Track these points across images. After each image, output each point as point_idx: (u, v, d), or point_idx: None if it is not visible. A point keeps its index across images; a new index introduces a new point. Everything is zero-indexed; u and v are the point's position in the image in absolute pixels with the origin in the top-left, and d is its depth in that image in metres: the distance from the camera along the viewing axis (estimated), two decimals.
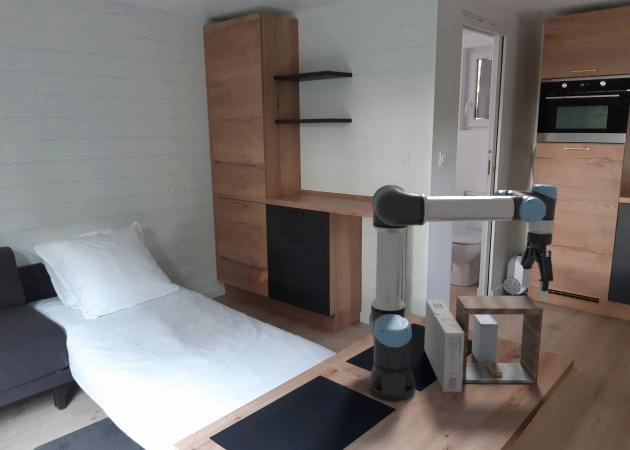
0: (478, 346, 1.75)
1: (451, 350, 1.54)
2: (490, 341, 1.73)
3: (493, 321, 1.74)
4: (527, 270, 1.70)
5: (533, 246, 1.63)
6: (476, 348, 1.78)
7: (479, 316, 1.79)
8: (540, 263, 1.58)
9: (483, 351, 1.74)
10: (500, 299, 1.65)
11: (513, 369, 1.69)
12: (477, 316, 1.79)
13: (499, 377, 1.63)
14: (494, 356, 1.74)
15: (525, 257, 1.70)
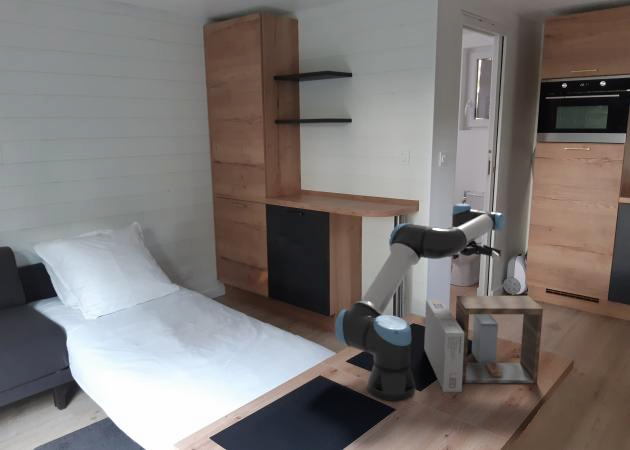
0: (478, 346, 1.75)
1: (451, 350, 1.54)
2: (490, 341, 1.73)
3: (493, 321, 1.74)
4: None
5: None
6: (476, 348, 1.78)
7: (479, 316, 1.79)
8: None
9: (483, 351, 1.74)
10: (500, 299, 1.65)
11: (513, 369, 1.69)
12: (477, 316, 1.79)
13: (499, 377, 1.63)
14: (494, 356, 1.74)
15: None
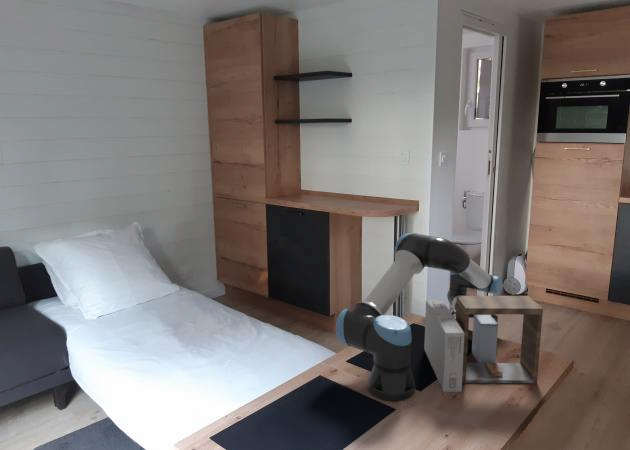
0: (478, 346, 1.75)
1: (451, 350, 1.54)
2: (490, 341, 1.73)
3: (493, 321, 1.74)
4: None
5: None
6: (476, 348, 1.78)
7: (479, 316, 1.79)
8: None
9: (483, 351, 1.74)
10: (500, 299, 1.65)
11: (513, 369, 1.69)
12: (477, 316, 1.79)
13: (499, 377, 1.63)
14: (494, 356, 1.74)
15: None
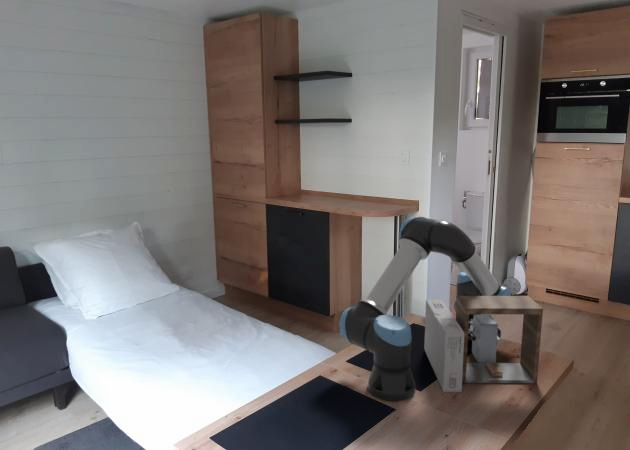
0: (478, 346, 1.75)
1: (451, 350, 1.54)
2: (490, 341, 1.73)
3: (493, 321, 1.74)
4: None
5: (470, 319, 1.91)
6: (476, 348, 1.78)
7: (479, 316, 1.79)
8: None
9: (483, 351, 1.74)
10: (500, 299, 1.65)
11: (513, 369, 1.69)
12: (477, 316, 1.79)
13: (499, 377, 1.63)
14: (494, 356, 1.74)
15: None
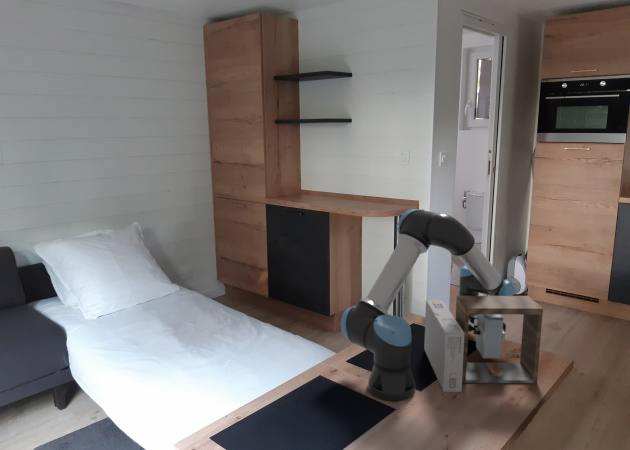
0: None
1: (451, 350, 1.54)
2: (495, 335, 1.69)
3: (498, 315, 1.70)
4: None
5: None
6: (481, 342, 1.73)
7: None
8: None
9: (488, 346, 1.70)
10: (500, 299, 1.65)
11: (513, 369, 1.69)
12: None
13: (499, 377, 1.63)
14: (499, 350, 1.70)
15: None
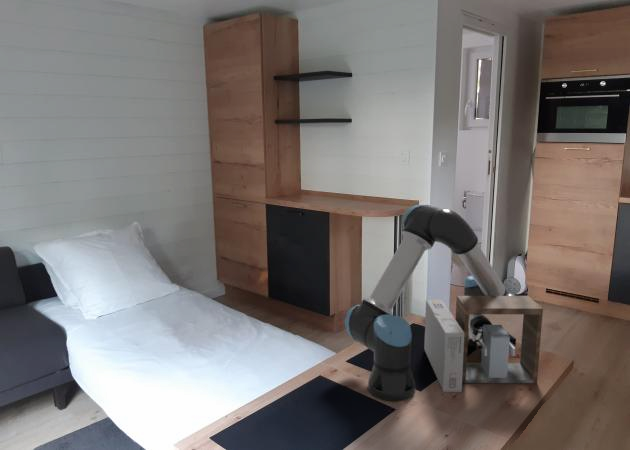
0: (488, 359, 1.63)
1: (451, 350, 1.54)
2: (501, 354, 1.61)
3: (504, 332, 1.62)
4: None
5: (480, 327, 1.78)
6: (486, 361, 1.66)
7: (489, 326, 1.67)
8: None
9: (493, 365, 1.62)
10: (500, 299, 1.65)
11: (513, 369, 1.69)
12: (487, 326, 1.67)
13: None
14: (506, 370, 1.62)
15: None
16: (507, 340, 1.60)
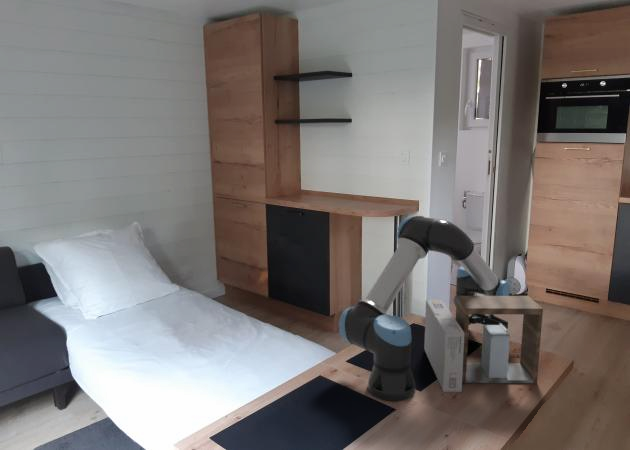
0: (488, 359, 1.63)
1: (451, 350, 1.54)
2: (501, 354, 1.61)
3: (504, 332, 1.62)
4: None
5: None
6: (486, 361, 1.66)
7: (489, 326, 1.67)
8: None
9: (493, 365, 1.62)
10: (500, 299, 1.65)
11: (513, 369, 1.69)
12: (487, 326, 1.67)
13: None
14: (506, 370, 1.62)
15: None
16: (507, 340, 1.60)
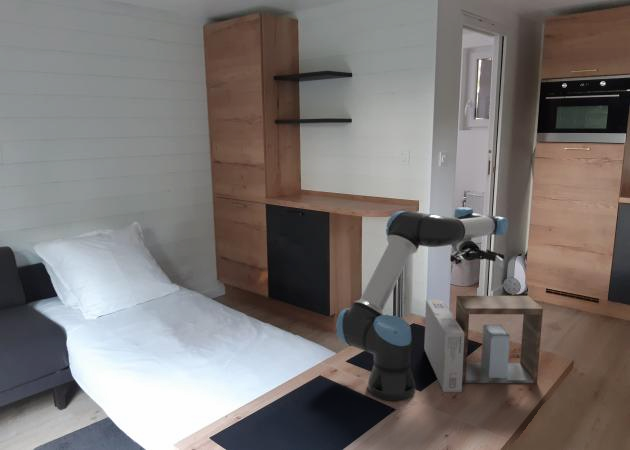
0: (488, 359, 1.63)
1: (451, 350, 1.54)
2: (501, 354, 1.61)
3: (504, 332, 1.62)
4: None
5: None
6: (486, 361, 1.66)
7: (489, 326, 1.67)
8: None
9: (493, 365, 1.62)
10: (500, 299, 1.65)
11: (513, 369, 1.69)
12: (487, 326, 1.67)
13: None
14: (506, 370, 1.62)
15: (455, 254, 1.89)
16: (507, 340, 1.60)
